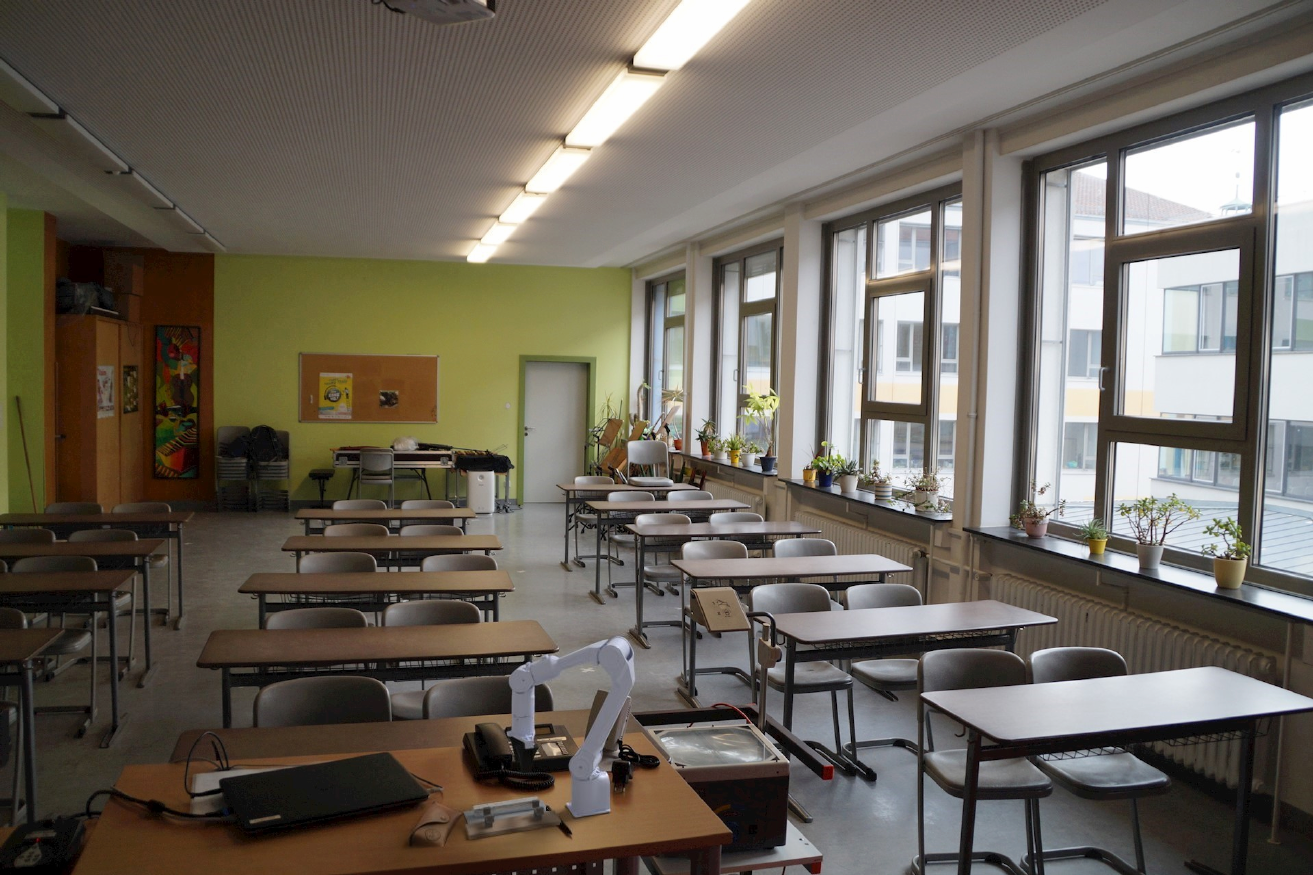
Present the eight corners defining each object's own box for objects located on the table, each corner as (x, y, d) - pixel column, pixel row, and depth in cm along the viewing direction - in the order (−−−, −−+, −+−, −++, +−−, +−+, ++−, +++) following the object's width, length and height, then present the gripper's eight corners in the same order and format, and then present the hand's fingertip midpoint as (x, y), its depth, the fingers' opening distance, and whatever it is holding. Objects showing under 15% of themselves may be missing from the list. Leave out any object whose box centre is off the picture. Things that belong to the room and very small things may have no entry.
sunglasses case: (445, 847, 205) (430, 822, 205) (419, 862, 206) (404, 837, 205) (464, 812, 223) (450, 789, 223) (439, 826, 224) (426, 803, 223)
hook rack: (554, 814, 223) (554, 796, 223) (560, 824, 217) (561, 806, 217) (465, 828, 215) (465, 809, 215) (469, 839, 209) (469, 820, 209)
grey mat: (542, 801, 230) (542, 799, 230) (549, 812, 224) (549, 811, 224) (463, 812, 223) (463, 811, 223) (468, 825, 217) (468, 823, 217)
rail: (536, 804, 227) (536, 796, 227) (538, 808, 225) (538, 799, 225) (473, 814, 222) (473, 805, 221) (474, 818, 219) (474, 809, 219)
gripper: (501, 706, 234) (501, 758, 234) (513, 725, 220) (513, 779, 221) (528, 703, 236) (527, 754, 237) (541, 721, 223) (541, 775, 223)
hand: (522, 766), depth 229 cm, fingers open, 7 cm apart
